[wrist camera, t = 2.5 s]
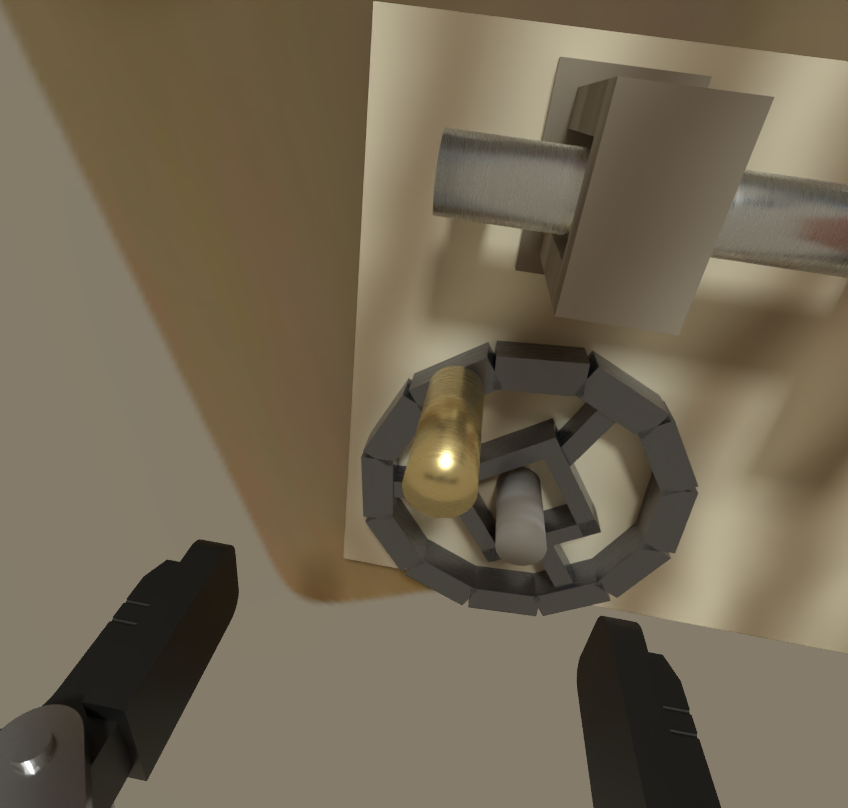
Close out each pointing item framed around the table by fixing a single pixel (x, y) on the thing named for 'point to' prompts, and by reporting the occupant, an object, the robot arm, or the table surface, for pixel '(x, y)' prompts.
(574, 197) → the copper cube on rod
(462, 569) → the handwheel
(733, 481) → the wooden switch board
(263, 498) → the table surface
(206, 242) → the table surface
